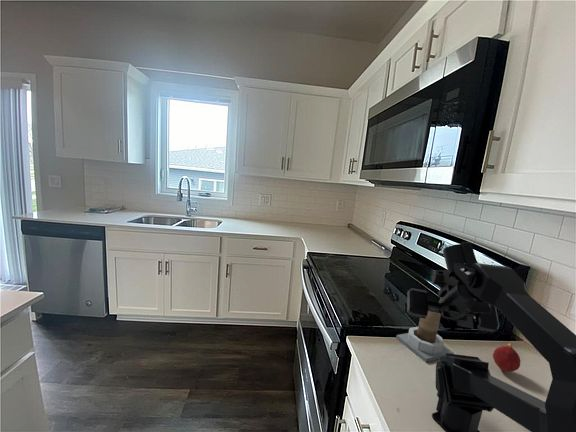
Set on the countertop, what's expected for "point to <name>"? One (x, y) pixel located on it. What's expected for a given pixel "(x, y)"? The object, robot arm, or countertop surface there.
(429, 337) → the mill
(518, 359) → the onion
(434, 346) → the dock
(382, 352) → the countertop surface
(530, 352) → the countertop surface
